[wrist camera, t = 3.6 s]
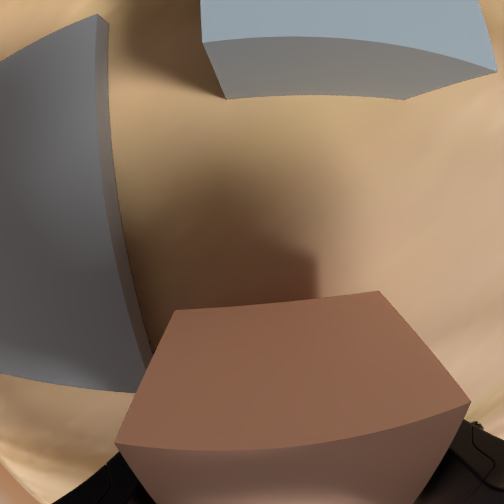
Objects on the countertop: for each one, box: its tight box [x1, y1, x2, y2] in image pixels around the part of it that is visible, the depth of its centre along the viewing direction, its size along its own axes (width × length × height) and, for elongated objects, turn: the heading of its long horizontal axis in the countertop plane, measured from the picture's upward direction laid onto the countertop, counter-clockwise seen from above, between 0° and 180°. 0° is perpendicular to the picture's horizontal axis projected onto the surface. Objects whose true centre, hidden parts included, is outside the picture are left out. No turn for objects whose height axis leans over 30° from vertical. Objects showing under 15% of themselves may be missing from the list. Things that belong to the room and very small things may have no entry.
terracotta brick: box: [114, 291, 471, 504], centre depth 7 cm, size 6×6×5 cm
